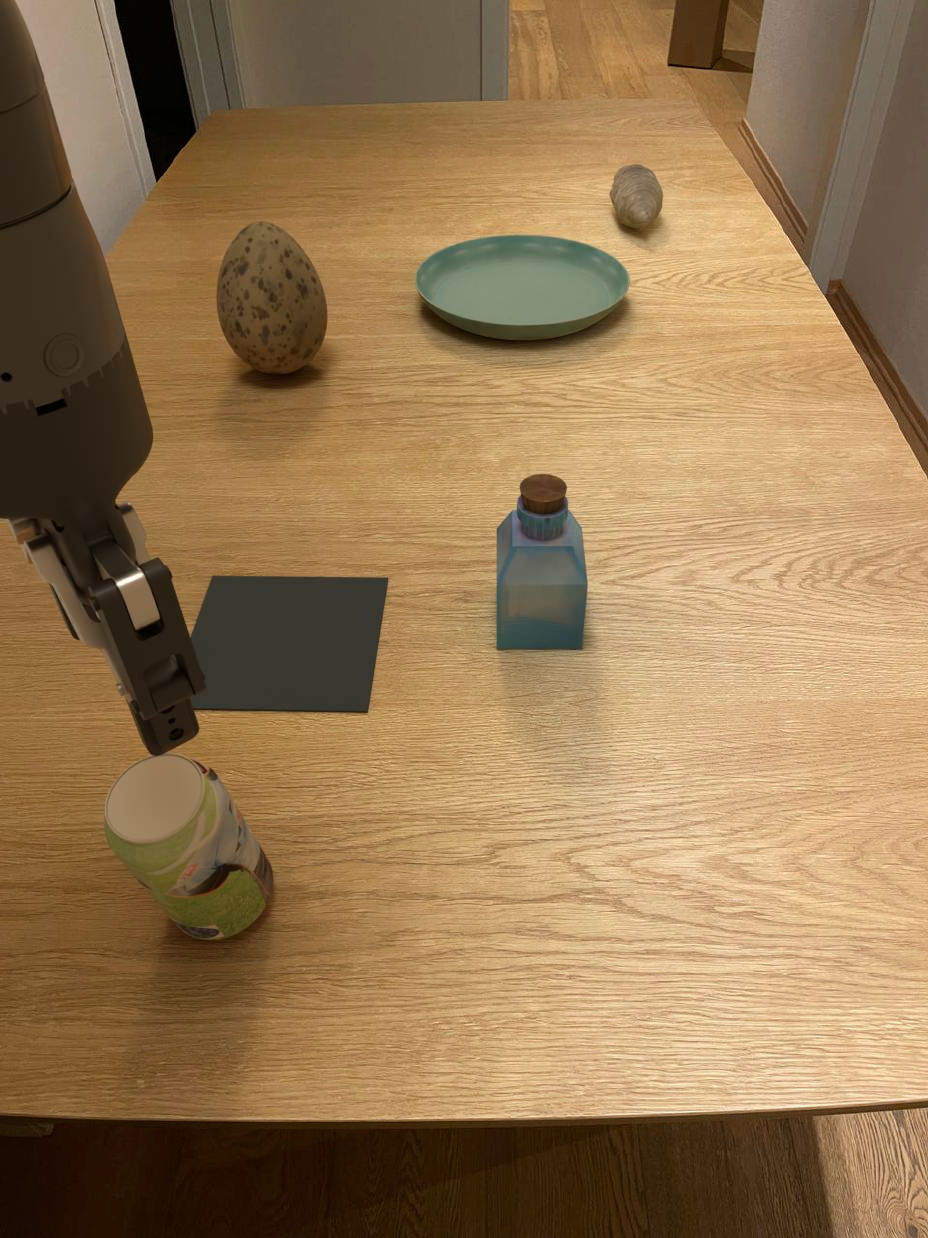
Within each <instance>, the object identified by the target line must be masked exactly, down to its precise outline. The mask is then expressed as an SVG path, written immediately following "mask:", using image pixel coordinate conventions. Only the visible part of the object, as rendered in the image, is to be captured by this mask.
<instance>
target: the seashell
mask: <svg viewBox="0 0 928 1238" xmlns="http://www.w3.org/2000/svg"><path fill="white" fill-rule="evenodd" d="M608 195H609V198H610V201H611V204H612V206H613V207H614V210H615V212H616V214H617V216H618V219H619V220H620V222H621V223H622V224H623V225H625V226H626V227H629V228H632V229H643V228H645V227H648V226H649V225H651V224H653V223H654V221H656V219H657V218H658V217H659V215H660V214H661V211H662V209H663V203H664V202H663V201H664V192H663V187H662V186H661V184H660V182H659V180H658V178H657V176H656V174H655V172H654V171H653V170H651V169H650V168H648V167H646V166H645V165H642V164H638V163H632V164H629V165H628V164H627V165H623V166H621V167H620V168H619V169H618V170H616V172H615V174H614V176H613V182H612V184H611V188H610V191H609V194H608Z"/></svg>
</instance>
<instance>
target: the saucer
mask: <svg viewBox="0 0 928 1238" xmlns="http://www.w3.org/2000/svg"><path fill="white" fill-rule="evenodd" d="M630 284H631V278H630V273H629V272H628V270H627V268H626V267H625V266H624V264H623V263H622V262H621V261H620V260H619V259H617V258H616V257H615V256H613V255H612V254H610V253H609V252H607V251H605V250H603V249H600V248H598V247H596V246H594V245H591V244H587V243H584V242H581V241H577V240H573V239H570V238H569V239H568V238H564V237H560V236H559V237H558V236H557V237H556V236H552V235H551V236H550V235H540V234H502V235H501V234H499V235H491V236H484V237H477V238H473V239H468V240H464V241H460V242H457V243H453V244H450V245H448V246H446V247H444V248H441V249H439V250H438V251H436V252H434V253H432V254H430V255H429V256H427V257H426V258H425V259H424V260H423V261H422V262H421V263H420V264H419V265H418V267H417V269H416V271H415V273H414V285H415V288H416V290H417V293H418V295H419V297H420V298H421V299H422V300H423V302H424V303H425V304H426V306H427V307H428V308H429V309H430V310H432V312H434V314H435V315H436V316H438V317H439V318H441V319H442V320H444V321H445V322H447V323H449V324H450V325H452V326H454V327H456V328H458V329H460V330H462V331H466V332H468V333H470V334H474V335H478V336H483V337H485V338H486V337H487V338H491V339H497V340H505V341H538V340H547V339H548V340H549V339H553V338H559V337H564V336H568V335H571V334H574V333H577V332H579V331H582V330H585V329H586V328H588V327H591V326H593V325H594V324H597V323H598V322H599V321H601V320H602V319H604V318H605V317H607V316H608V315H610V314H611V312H613V311H614V310H615V309H616V308H617V307H618V306H619V305H620V304H621V302H622V301H623V299H624V298H625V296H626V294H627V293H628V291H629V288H630Z"/></svg>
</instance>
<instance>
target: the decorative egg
mask: <svg viewBox="0 0 928 1238" xmlns="http://www.w3.org/2000/svg"><path fill="white" fill-rule="evenodd" d="M217 277H218V278H217V283H216V295H215V296H216V312H217V317H218V321H219V325H220V329H221V331H222V334H223V336H224V338H225V340H226V342H227V344H228V345H229V347H230V348H231V349H232V351H233V352H234V353H235V354H236V356H237V357H238V358H240V360H241V361H242V362H244V363H245V364H246V365H248V366H250V367H251V368H253V369H255V370H257V371H259V372H262V373H266V374H269V375H287V374H291V373H294V372H297V371H298V370H300V369H302V368H304V367H305V366H306V365H308V364H310V362H311V361H313V359H314V357H315V356H316V355H317V354H318V353H319V351H320V349H321V347H322V346H323V343H324V340H325V337H326V333H327V329H328V316H329V315H328V304H327V298H326V293H325V290H324V287H323V284H322V281H321V278H320V275H319V273H318V271H317V269H316V268H315V266H314V264H313V263H312V261H311V258H310V257H309V256H308V254H307V253H306V251H305V250H304V248H303V247H302V246H301V245H300V244H299V243H298V242H297V240H295V238H294V237H293V236H292V235H291V234H289V232H287V231H286V230H284V229H283V228H282V227H280V226H278V225H276V224H274V223H273V222H269V221H264V220H260V221H254V222H251V223H249V224H247V225H246V226H244V227H243V228H242V229H240V230H239V232H238V233H237V234H236V235H235V237H234V238H233V239H232V240H231V242H230V244H229V246H228V247H227V250H226V251H225V254H224V256H223V257H222V261H221V264H220V267H219V271H218V276H217Z"/></svg>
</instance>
